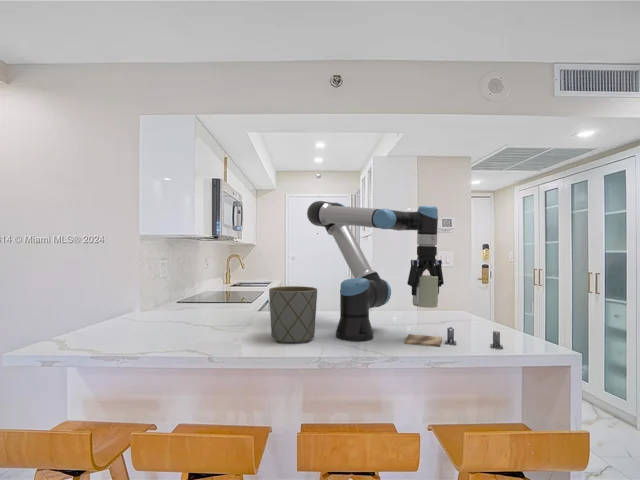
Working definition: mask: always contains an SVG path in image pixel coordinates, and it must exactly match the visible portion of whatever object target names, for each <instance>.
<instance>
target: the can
mask: <svg viewBox="0 0 640 480" xmlns="http://www.w3.org/2000/svg"><path fill="white" fill-rule="evenodd" d="M417 287H419V304H413V303H412V305H413V306H415V307H419V308H425V309H429V308H431V309H433V308H438V303H437V291H438V277H437V276H436V277H434V276H431V275H430V274H429V275H428V274H427V275H425V274H422V276H421V277H419V284H418V286H417Z"/></svg>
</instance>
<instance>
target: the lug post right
mask: <svg viewBox="0 0 640 480" xmlns="http://www.w3.org/2000/svg"><path fill="white" fill-rule="evenodd" d="M489 346H490V349H494V348H496V349H495V350H497V349H498V350H504V346H503V345H502V344H501V332H500V331H496V330H495V331H492V343H490V344H489Z"/></svg>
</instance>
